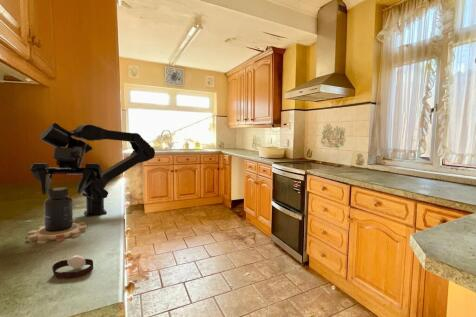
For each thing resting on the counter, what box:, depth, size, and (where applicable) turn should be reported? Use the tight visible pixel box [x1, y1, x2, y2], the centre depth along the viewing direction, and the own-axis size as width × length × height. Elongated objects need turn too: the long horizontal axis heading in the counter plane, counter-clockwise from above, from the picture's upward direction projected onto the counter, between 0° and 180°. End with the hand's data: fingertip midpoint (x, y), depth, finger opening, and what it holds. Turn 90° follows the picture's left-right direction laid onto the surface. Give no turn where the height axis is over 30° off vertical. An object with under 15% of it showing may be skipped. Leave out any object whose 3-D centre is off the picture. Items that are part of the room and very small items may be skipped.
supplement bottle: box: [43, 186, 74, 232], centre depth 72 cm, size 7×7×12 cm
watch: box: [51, 254, 94, 280], centre depth 52 cm, size 8×5×4 cm, turn 100°
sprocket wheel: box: [26, 220, 88, 244], centre depth 73 cm, size 14×14×1 cm
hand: (61, 193), depth 73 cm, fingers open, 9 cm apart
